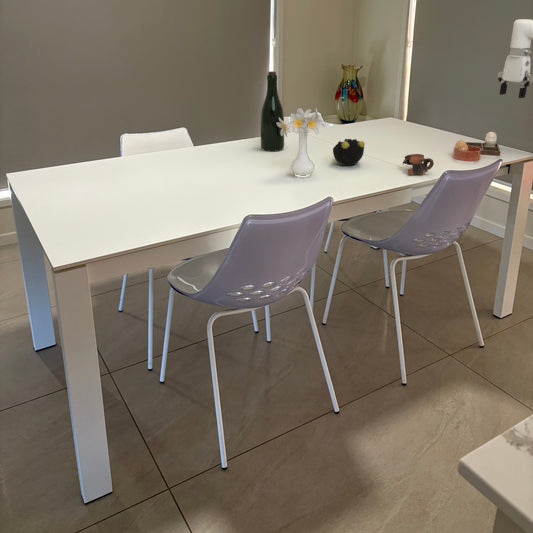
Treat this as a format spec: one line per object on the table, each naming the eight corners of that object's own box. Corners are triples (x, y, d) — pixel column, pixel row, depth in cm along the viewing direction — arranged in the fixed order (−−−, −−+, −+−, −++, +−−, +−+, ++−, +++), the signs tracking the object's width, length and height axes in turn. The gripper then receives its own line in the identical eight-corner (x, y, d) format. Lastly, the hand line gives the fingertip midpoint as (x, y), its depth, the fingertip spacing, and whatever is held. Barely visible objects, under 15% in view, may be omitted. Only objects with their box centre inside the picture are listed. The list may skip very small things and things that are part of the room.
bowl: (479, 156, 247) (481, 146, 245) (480, 163, 237) (482, 152, 235) (452, 155, 249) (453, 144, 248) (452, 162, 240) (453, 151, 238)
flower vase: (271, 177, 223) (271, 110, 212) (308, 168, 233) (310, 104, 222) (293, 185, 214) (294, 115, 203) (331, 175, 224) (333, 109, 213)
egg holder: (497, 149, 258) (498, 143, 257) (499, 157, 246) (500, 151, 245) (464, 147, 261) (465, 141, 260) (464, 155, 249) (465, 149, 248)
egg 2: (494, 148, 257) (497, 130, 253) (495, 151, 253) (498, 133, 249) (483, 148, 258) (486, 130, 254) (483, 150, 254) (486, 132, 250)
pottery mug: (400, 176, 224) (399, 154, 225) (407, 181, 233) (406, 160, 233) (431, 171, 218) (430, 150, 219) (438, 177, 227) (437, 156, 227)
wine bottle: (259, 151, 258) (258, 73, 243) (261, 146, 267) (260, 70, 253) (283, 152, 257) (284, 73, 243) (284, 146, 266) (284, 69, 252)
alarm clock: (360, 169, 244) (376, 139, 235) (344, 179, 233) (360, 148, 224) (337, 154, 247) (352, 123, 238) (320, 163, 236) (336, 131, 227)
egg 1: (471, 153, 244) (463, 136, 241) (471, 157, 240) (464, 141, 237) (460, 157, 246) (453, 141, 243) (460, 161, 242) (453, 145, 239)
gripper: (543, 53, 232) (535, 98, 239) (508, 50, 246) (501, 92, 253) (530, 54, 229) (523, 99, 236) (495, 51, 242) (489, 93, 250)
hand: (512, 96), depth 245 cm, fingers open, 9 cm apart
